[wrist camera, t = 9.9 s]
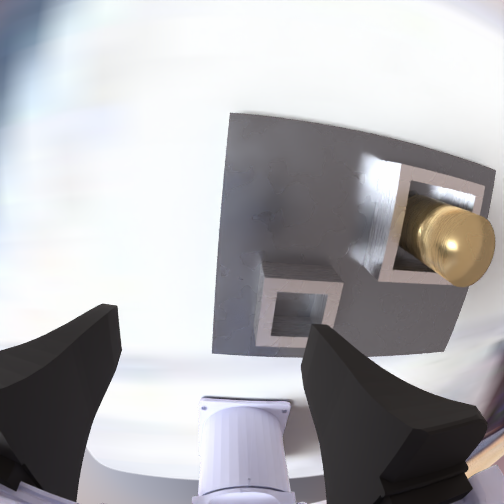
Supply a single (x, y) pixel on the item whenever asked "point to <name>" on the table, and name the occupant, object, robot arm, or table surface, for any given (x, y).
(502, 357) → the table surface
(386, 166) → the socket plate
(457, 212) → the pipe stub
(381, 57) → the table surface
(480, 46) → the table surface
